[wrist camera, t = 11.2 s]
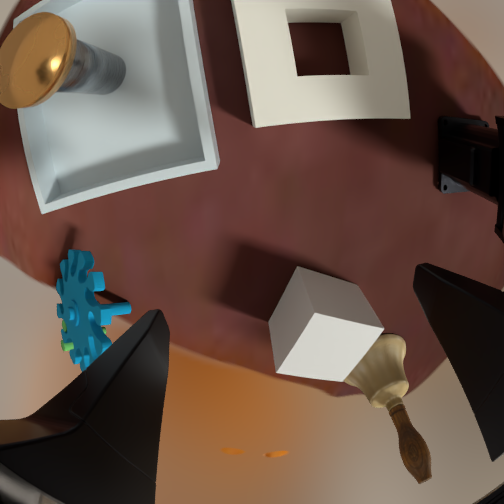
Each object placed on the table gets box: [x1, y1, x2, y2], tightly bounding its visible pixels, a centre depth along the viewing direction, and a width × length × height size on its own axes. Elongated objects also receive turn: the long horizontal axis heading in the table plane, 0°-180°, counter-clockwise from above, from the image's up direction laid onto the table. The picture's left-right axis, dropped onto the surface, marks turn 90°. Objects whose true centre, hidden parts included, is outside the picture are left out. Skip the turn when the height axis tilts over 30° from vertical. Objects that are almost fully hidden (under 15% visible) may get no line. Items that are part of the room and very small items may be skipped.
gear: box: [56, 249, 131, 372], centre depth 21 cm, size 11×6×10 cm
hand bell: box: [343, 334, 432, 484], centre depth 22 cm, size 8×8×16 cm
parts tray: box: [13, 0, 220, 214], centre depth 14 cm, size 13×16×3 cm
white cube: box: [268, 266, 384, 382], centre depth 22 cm, size 6×6×6 cm
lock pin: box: [0, 12, 126, 109], centre depth 11 cm, size 4×4×9 cm
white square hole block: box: [231, 0, 411, 128], centre depth 14 cm, size 10×10×3 cm
